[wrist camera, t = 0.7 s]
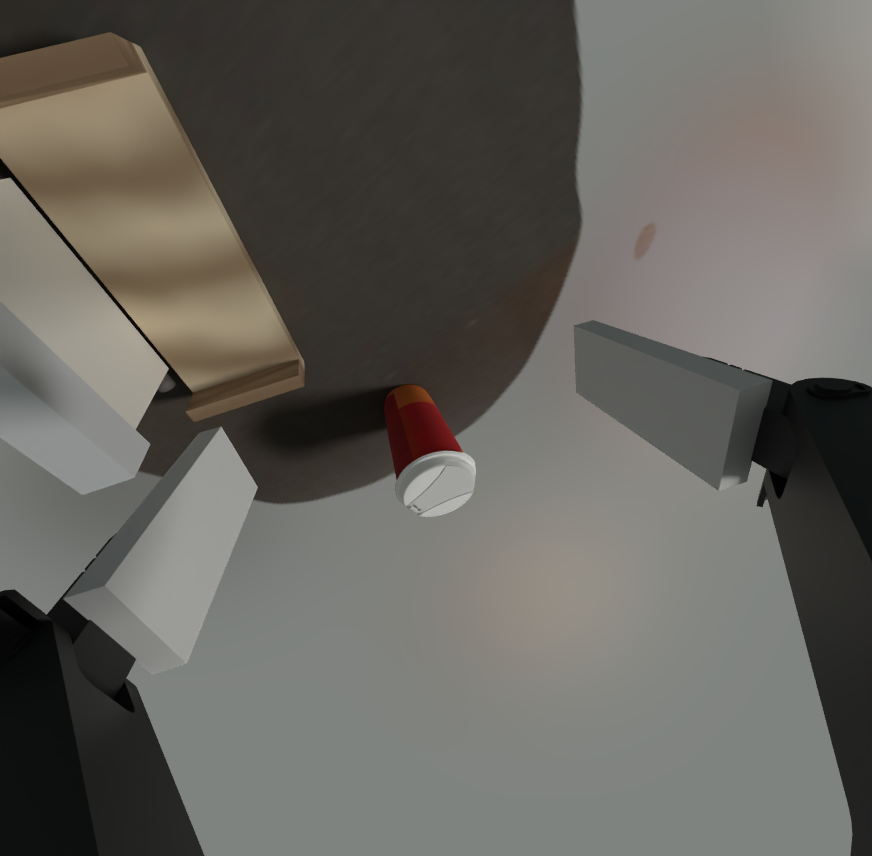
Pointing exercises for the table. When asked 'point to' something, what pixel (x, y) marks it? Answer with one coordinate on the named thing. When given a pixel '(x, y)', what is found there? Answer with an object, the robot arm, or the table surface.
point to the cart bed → (144, 216)
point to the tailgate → (67, 358)
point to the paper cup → (426, 454)
